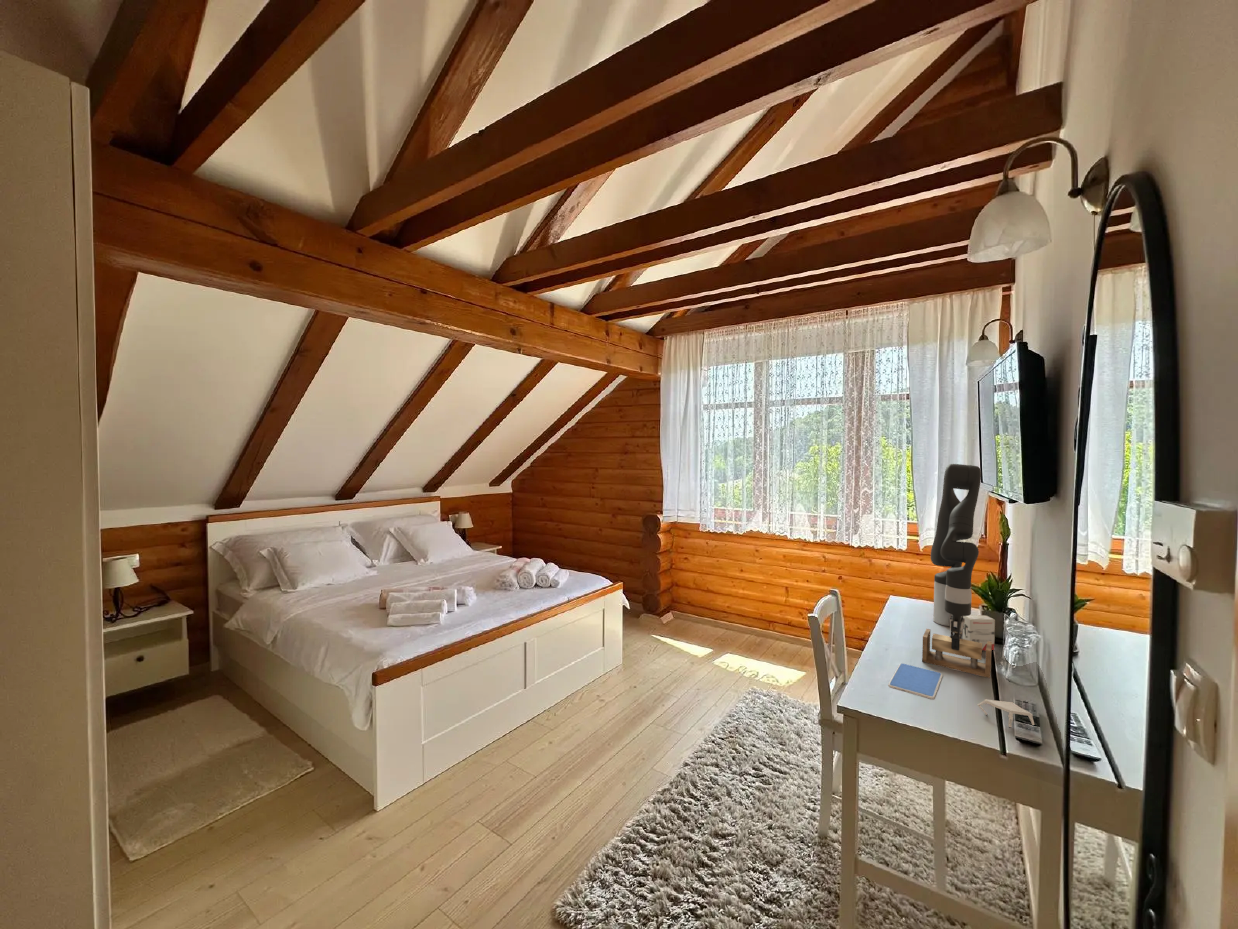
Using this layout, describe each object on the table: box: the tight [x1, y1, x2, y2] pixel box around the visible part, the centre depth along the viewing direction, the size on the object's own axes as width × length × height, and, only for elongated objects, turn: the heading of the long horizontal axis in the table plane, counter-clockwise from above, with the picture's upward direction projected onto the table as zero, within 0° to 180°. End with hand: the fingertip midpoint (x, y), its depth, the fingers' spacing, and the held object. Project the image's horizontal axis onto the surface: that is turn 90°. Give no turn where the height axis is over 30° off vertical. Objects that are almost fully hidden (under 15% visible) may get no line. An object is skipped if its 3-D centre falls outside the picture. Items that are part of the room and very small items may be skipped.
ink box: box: [962, 614, 996, 652], centre depth 183 cm, size 9×5×12 cm, turn 84°
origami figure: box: [977, 698, 1035, 728], centre depth 136 cm, size 12×8×5 cm
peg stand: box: [921, 628, 993, 679], centre depth 170 cm, size 9×19×9 cm, turn 51°
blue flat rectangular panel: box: [887, 662, 943, 700], centre depth 159 cm, size 19×13×1 cm, turn 140°
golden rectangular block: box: [931, 633, 983, 661], centre depth 169 cm, size 14×5×4 cm, turn 52°
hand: (956, 645), depth 169 cm, fingers open, 8 cm apart
